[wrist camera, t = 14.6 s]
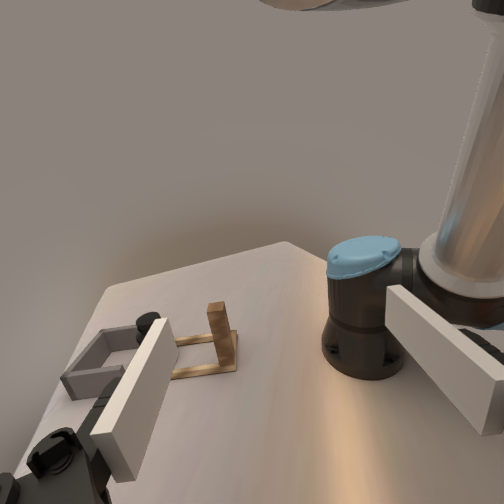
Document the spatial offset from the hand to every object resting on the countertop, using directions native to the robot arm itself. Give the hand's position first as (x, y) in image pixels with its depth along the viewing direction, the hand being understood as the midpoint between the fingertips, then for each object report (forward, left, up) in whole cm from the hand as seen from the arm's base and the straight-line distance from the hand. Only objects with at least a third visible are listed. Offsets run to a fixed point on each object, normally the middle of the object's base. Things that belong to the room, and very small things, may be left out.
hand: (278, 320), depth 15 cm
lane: (-15, -45, -30) cm, 56 cm away
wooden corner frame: (-22, -30, -30) cm, 48 cm away
